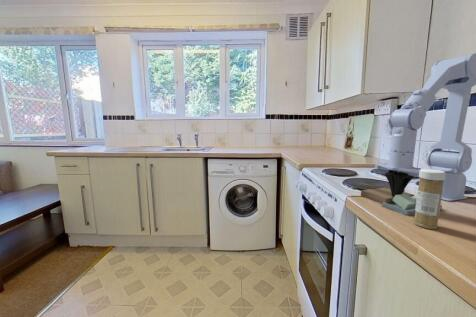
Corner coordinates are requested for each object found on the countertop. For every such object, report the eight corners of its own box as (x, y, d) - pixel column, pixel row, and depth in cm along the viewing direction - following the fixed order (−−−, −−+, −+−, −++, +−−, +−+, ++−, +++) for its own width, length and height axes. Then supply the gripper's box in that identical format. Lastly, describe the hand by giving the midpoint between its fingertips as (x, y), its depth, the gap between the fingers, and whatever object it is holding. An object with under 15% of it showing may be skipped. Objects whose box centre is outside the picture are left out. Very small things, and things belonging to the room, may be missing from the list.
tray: (414, 201, 71) (415, 197, 71) (441, 209, 64) (442, 205, 64) (381, 206, 66) (382, 202, 66) (406, 215, 60) (407, 211, 59)
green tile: (402, 198, 67) (405, 193, 66) (414, 208, 64) (418, 203, 63) (392, 200, 66) (395, 194, 65) (404, 209, 62) (408, 204, 61)
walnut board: (386, 192, 79) (387, 187, 79) (413, 201, 71) (414, 194, 71) (360, 195, 76) (361, 190, 75) (385, 205, 67) (386, 198, 67)
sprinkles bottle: (440, 226, 53) (448, 170, 51) (433, 231, 51) (442, 173, 49) (416, 219, 57) (424, 167, 55) (409, 224, 54) (416, 169, 52)
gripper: (369, 149, 70) (365, 191, 72) (419, 155, 56) (412, 206, 59) (385, 148, 72) (381, 189, 74) (438, 154, 59) (430, 204, 61)
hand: (396, 197), depth 67 cm, fingers closed
